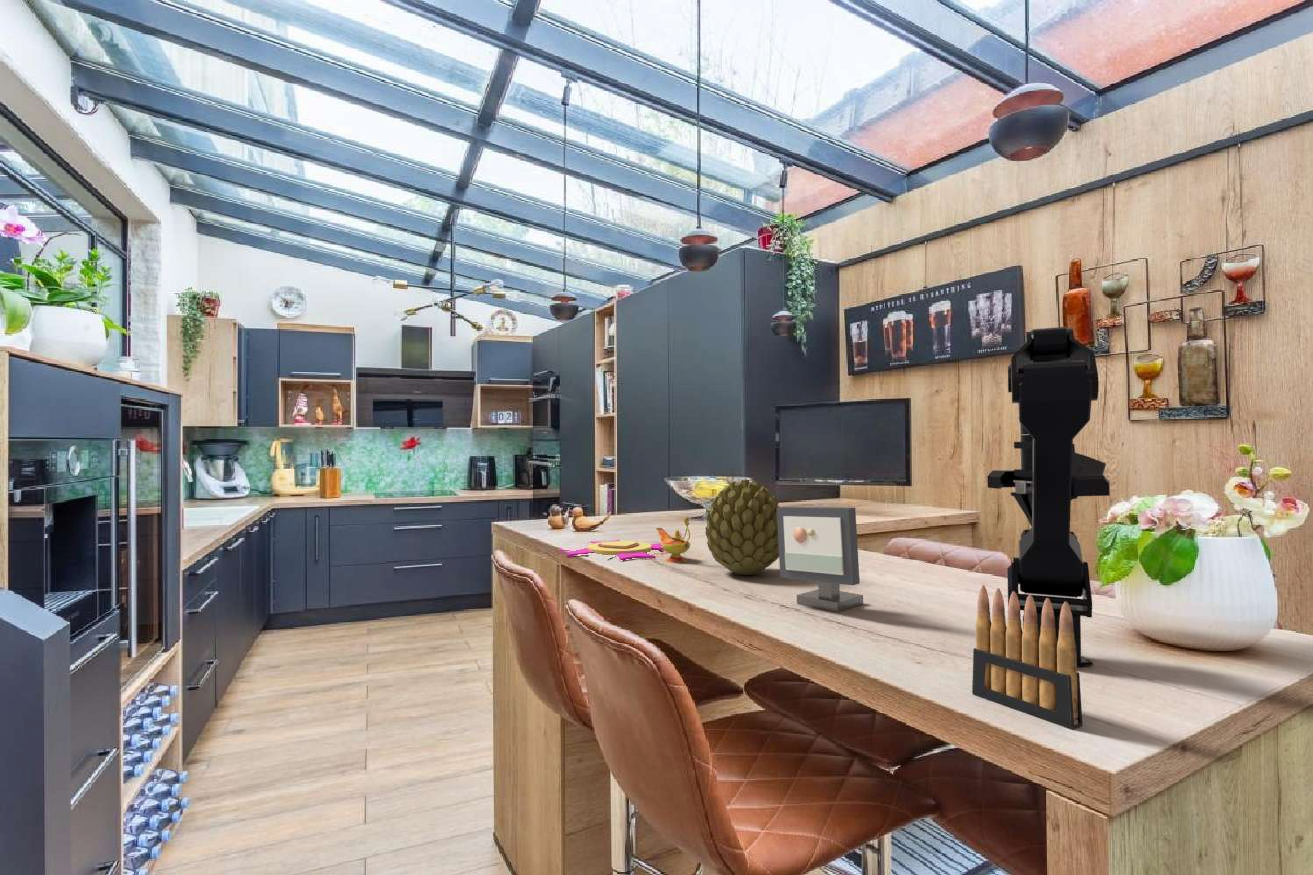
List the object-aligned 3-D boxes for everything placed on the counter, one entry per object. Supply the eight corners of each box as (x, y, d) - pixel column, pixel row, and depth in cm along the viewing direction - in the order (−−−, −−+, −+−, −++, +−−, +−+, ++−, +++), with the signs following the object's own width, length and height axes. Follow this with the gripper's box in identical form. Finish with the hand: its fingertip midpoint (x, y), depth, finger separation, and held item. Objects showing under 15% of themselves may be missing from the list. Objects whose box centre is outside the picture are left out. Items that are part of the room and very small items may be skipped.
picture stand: (863, 603, 114) (862, 522, 115) (836, 612, 109) (835, 526, 109) (823, 596, 120) (822, 518, 120) (796, 603, 115) (795, 522, 115)
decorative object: (765, 565, 152) (764, 477, 152) (800, 579, 136) (799, 480, 136) (695, 569, 147) (694, 478, 148) (722, 584, 131) (721, 482, 131)
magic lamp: (669, 553, 170) (669, 509, 170) (703, 564, 153) (702, 516, 153) (644, 555, 167) (644, 511, 167) (676, 567, 150) (676, 518, 151)
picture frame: (859, 583, 106) (855, 507, 106) (851, 585, 104) (846, 508, 104) (787, 575, 116) (783, 506, 116) (778, 577, 114) (774, 507, 115)
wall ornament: (576, 556, 154) (551, 539, 183) (576, 566, 154) (551, 547, 183) (695, 548, 165) (653, 533, 193) (695, 558, 165) (654, 541, 193)
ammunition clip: (971, 694, 73) (970, 584, 73) (982, 691, 74) (980, 582, 74) (1072, 730, 64) (1070, 604, 64) (1083, 726, 65) (1081, 602, 65)
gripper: (1146, 433, 89) (1148, 550, 89) (1049, 435, 108) (1051, 531, 108) (1069, 433, 88) (1071, 552, 88) (984, 435, 106) (986, 533, 106)
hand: (1044, 541), depth 97 cm, fingers closed
